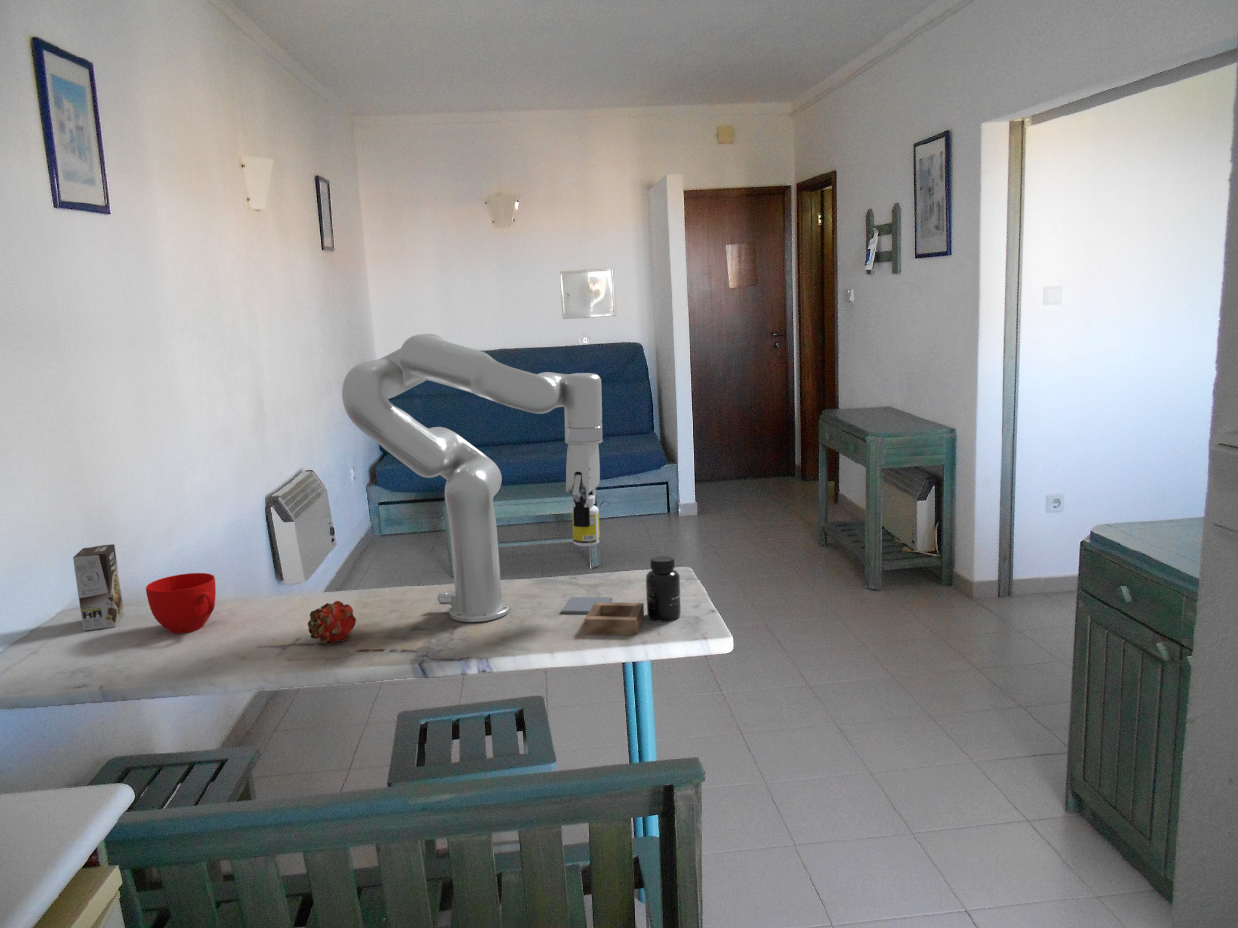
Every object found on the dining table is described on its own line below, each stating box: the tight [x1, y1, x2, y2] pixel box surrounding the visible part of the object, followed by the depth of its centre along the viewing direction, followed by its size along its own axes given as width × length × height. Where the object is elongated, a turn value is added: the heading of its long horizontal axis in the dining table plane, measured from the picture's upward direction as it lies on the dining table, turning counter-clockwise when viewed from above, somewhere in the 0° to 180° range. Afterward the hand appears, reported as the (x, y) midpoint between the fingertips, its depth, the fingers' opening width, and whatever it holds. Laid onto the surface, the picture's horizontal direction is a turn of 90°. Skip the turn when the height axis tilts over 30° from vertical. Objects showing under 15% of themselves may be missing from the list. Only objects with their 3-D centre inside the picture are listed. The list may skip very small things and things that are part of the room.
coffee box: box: [72, 543, 125, 632], centre depth 194 cm, size 9×6×16 cm
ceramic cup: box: [145, 572, 217, 634], centre depth 188 cm, size 13×17×10 cm
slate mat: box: [560, 596, 613, 615], centre depth 192 cm, size 9×9×1 cm
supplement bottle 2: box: [645, 555, 682, 622], centre depth 183 cm, size 7×7×12 cm
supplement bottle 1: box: [571, 495, 601, 547], centre depth 186 cm, size 5×5×10 cm
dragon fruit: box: [307, 600, 357, 646], centre depth 178 cm, size 8×8×12 cm
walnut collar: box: [584, 602, 645, 636], centre depth 179 cm, size 10×10×3 cm
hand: (585, 521), depth 186 cm, fingers closed on supplement bottle 1, 5 cm apart
